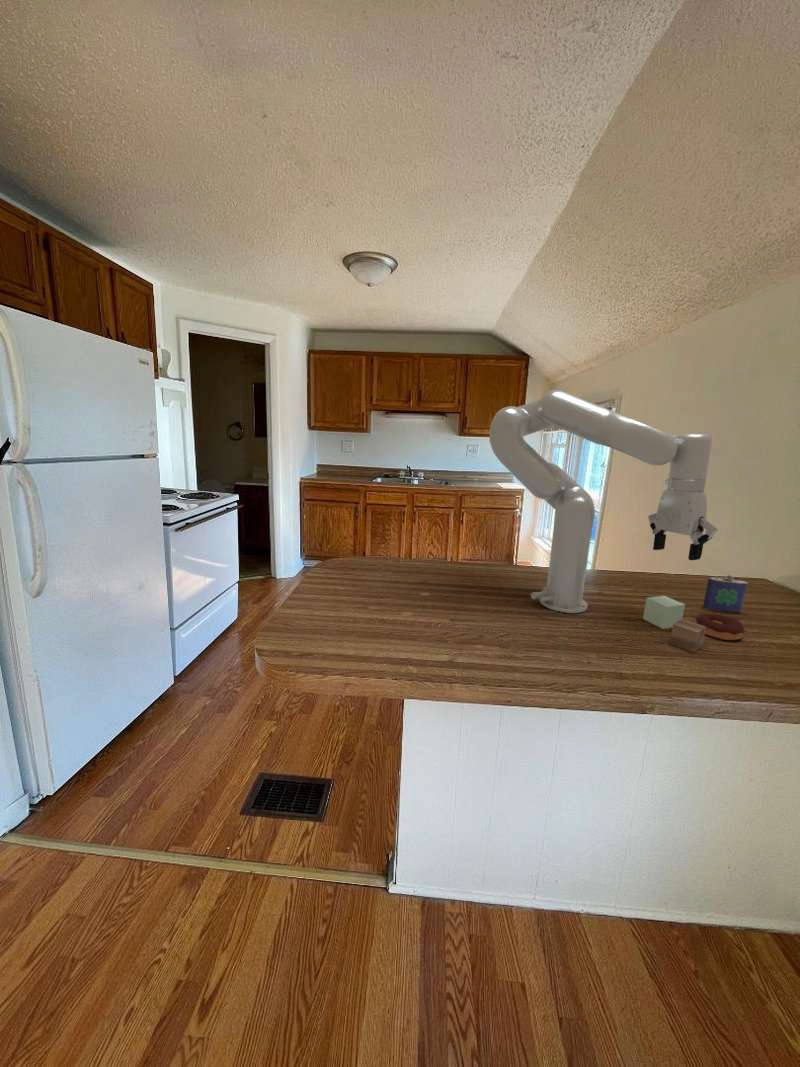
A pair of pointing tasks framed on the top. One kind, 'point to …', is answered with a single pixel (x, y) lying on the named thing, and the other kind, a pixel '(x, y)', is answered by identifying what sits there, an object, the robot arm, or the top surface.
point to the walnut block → (687, 635)
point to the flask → (725, 595)
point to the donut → (720, 626)
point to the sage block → (663, 611)
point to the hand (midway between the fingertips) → (675, 554)
